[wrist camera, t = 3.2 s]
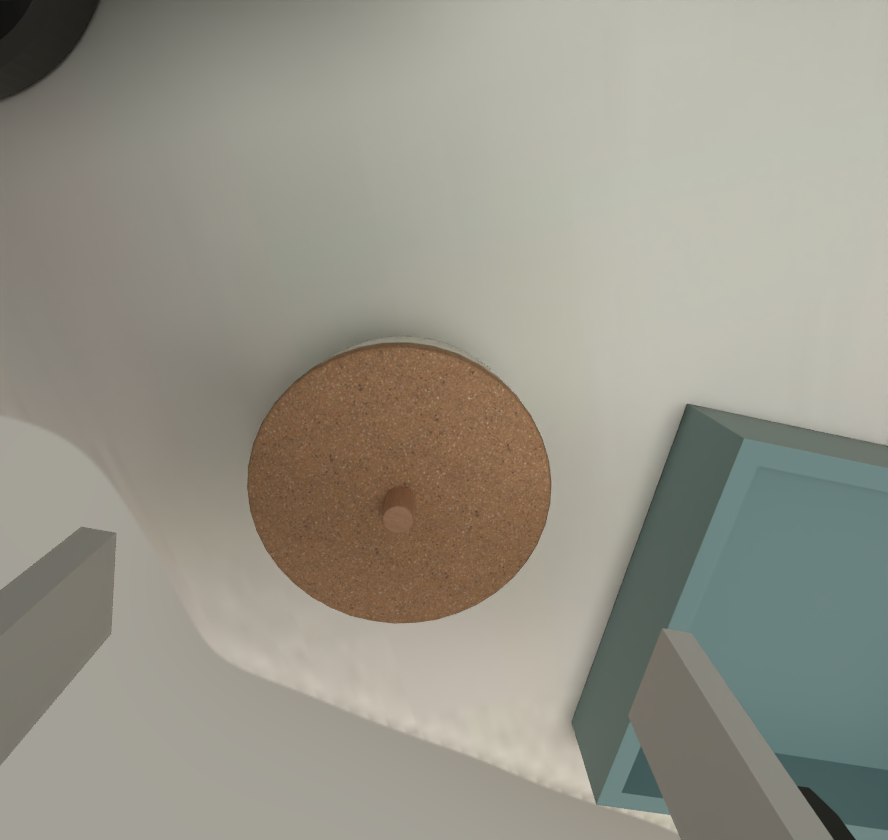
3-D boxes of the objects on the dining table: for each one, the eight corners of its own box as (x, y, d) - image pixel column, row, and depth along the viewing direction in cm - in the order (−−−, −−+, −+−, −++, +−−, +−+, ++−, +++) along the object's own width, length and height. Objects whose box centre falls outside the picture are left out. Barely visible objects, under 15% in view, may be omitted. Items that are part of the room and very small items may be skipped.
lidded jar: (467, 553, 29) (484, 692, 20) (269, 485, 27) (191, 602, 18) (554, 367, 26) (621, 431, 17) (338, 280, 24) (286, 300, 15)
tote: (571, 722, 32) (596, 804, 28) (687, 403, 27) (744, 438, 22) (906, 773, 34) (984, 858, 30) (1082, 487, 28) (1214, 535, 24)
